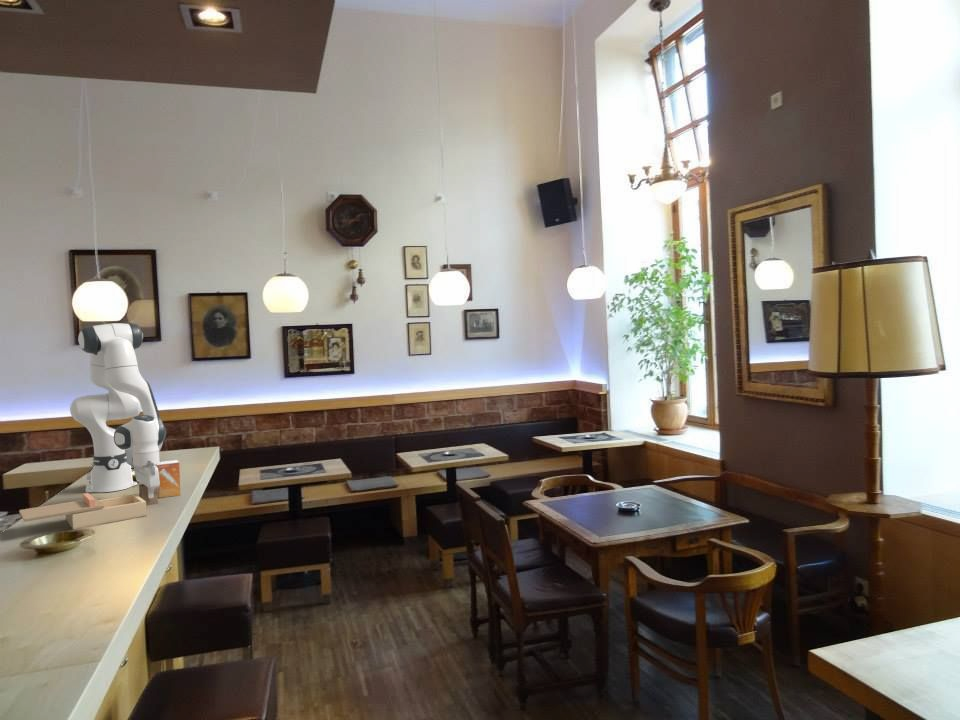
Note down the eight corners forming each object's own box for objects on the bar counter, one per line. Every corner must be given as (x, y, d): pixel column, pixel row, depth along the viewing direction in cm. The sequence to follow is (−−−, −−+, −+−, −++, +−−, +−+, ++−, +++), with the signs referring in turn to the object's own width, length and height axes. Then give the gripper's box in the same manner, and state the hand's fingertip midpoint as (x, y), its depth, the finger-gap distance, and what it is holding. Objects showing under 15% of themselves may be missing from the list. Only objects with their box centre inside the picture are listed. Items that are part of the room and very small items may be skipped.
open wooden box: (65, 520, 231) (65, 505, 231) (136, 507, 245) (135, 494, 244) (73, 529, 219) (72, 514, 219) (146, 515, 233) (146, 501, 233)
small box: (158, 498, 258) (156, 464, 257) (156, 495, 263) (154, 462, 262) (181, 495, 262) (179, 461, 261) (178, 492, 267) (176, 459, 267)
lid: (19, 512, 222) (18, 502, 222) (95, 500, 236) (94, 490, 236) (24, 521, 211) (23, 511, 211) (103, 508, 225) (103, 498, 225)
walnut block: (139, 503, 251) (138, 484, 251) (154, 500, 254) (153, 482, 254) (143, 505, 247) (142, 487, 247) (157, 503, 250) (156, 484, 250)
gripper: (163, 461, 244) (165, 499, 244) (148, 454, 260) (150, 490, 260) (144, 464, 240) (146, 503, 240) (130, 457, 256) (132, 493, 256)
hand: (148, 496), depth 250 cm, fingers closed on walnut block, 5 cm apart
